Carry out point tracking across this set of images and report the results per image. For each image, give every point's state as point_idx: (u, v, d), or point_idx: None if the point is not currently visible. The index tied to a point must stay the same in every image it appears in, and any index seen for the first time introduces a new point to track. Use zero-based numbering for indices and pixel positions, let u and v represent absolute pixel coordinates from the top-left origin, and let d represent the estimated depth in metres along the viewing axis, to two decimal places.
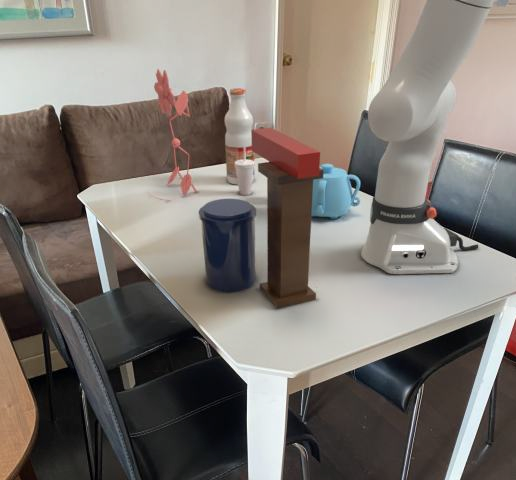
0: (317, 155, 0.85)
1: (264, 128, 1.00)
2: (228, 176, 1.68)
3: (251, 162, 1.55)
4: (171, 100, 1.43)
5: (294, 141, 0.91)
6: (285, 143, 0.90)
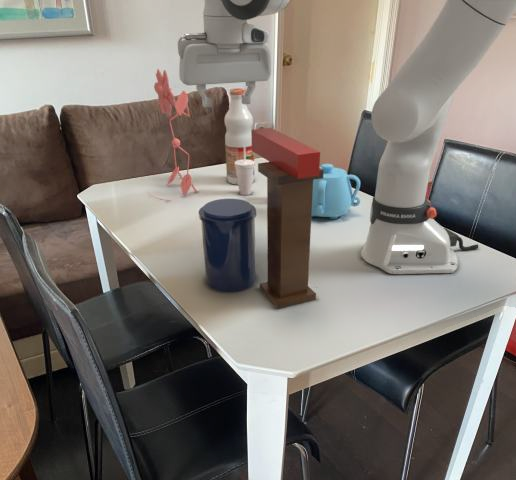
0: (317, 155, 0.85)
1: (264, 128, 1.00)
2: (228, 176, 1.68)
3: (251, 162, 1.55)
4: (171, 100, 1.43)
5: (294, 141, 0.91)
6: (285, 143, 0.90)
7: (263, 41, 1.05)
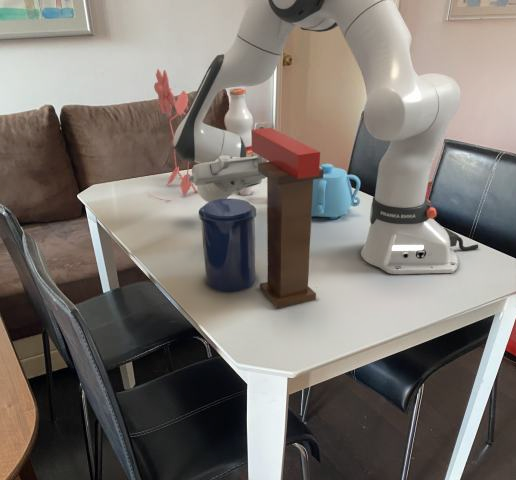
0: (317, 155, 0.85)
1: (264, 128, 1.00)
2: None
3: None
4: (171, 100, 1.43)
5: (294, 141, 0.91)
6: (285, 143, 0.90)
7: None
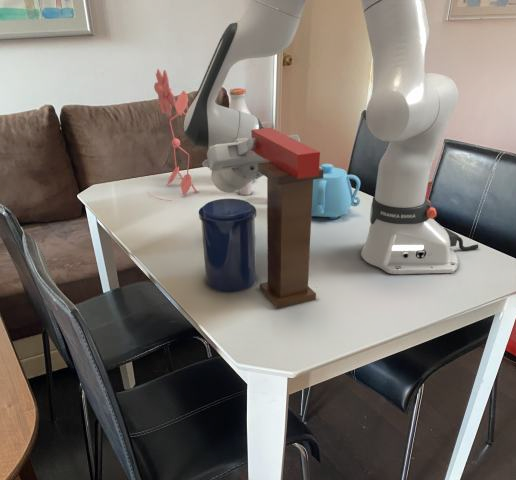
0: (317, 155, 0.85)
1: (264, 128, 1.00)
2: None
3: None
4: (171, 100, 1.43)
5: (294, 141, 0.91)
6: (285, 143, 0.90)
7: None
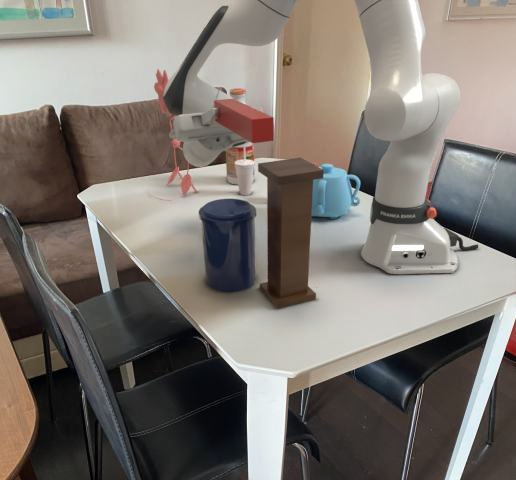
0: (271, 121, 0.90)
1: (226, 99, 1.04)
2: (228, 176, 1.68)
3: (251, 162, 1.55)
4: None
5: (251, 109, 0.95)
6: (242, 110, 0.94)
7: None
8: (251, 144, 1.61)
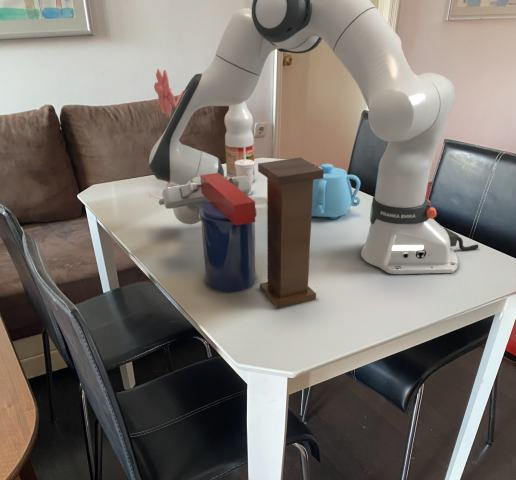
0: (252, 205, 0.95)
1: None
2: (228, 176, 1.68)
3: (251, 162, 1.55)
4: (171, 100, 1.43)
5: (235, 189, 1.00)
6: (226, 191, 0.99)
7: None
8: (251, 144, 1.61)
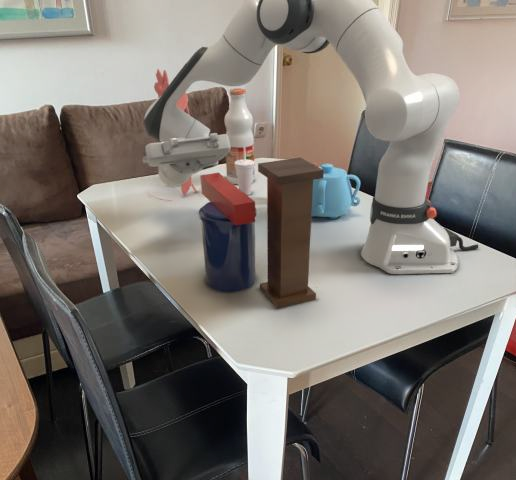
0: (252, 205, 0.95)
1: None
2: (228, 176, 1.68)
3: (251, 162, 1.55)
4: None
5: (235, 189, 1.00)
6: (226, 191, 0.99)
7: None
8: (251, 144, 1.61)
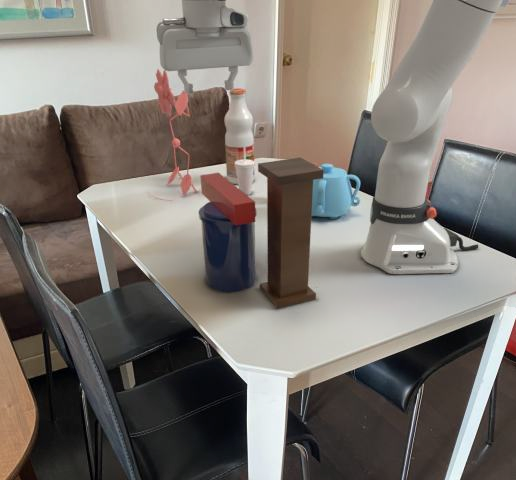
0: (252, 205, 0.95)
1: None
2: (228, 176, 1.68)
3: (251, 162, 1.55)
4: (171, 100, 1.43)
5: (235, 189, 1.00)
6: (226, 191, 0.99)
7: (243, 24, 1.04)
8: (251, 144, 1.61)
